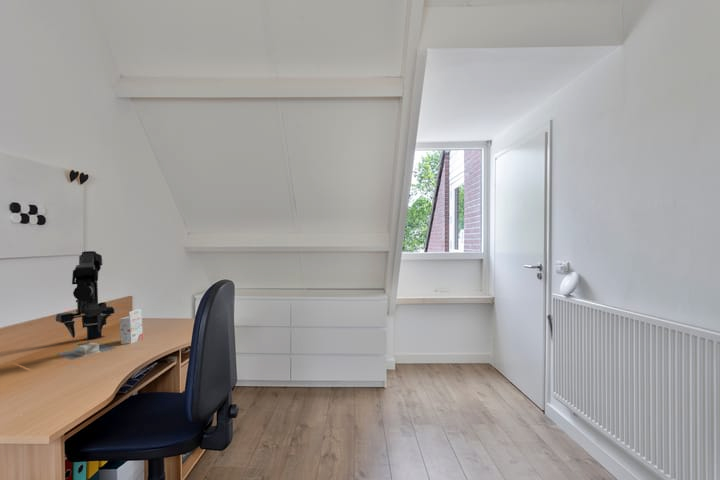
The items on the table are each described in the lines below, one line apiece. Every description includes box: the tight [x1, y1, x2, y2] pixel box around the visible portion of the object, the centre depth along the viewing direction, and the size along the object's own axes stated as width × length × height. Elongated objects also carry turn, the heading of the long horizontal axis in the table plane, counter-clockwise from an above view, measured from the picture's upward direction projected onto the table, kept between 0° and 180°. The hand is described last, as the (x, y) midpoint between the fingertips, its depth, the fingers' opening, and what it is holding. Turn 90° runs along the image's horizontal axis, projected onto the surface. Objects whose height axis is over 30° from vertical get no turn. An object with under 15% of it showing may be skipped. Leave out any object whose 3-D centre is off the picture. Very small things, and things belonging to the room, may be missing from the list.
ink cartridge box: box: [119, 308, 144, 345], centre depth 164 cm, size 9×5×15 cm, turn 179°
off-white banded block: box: [75, 341, 100, 356], centre depth 148 cm, size 5×8×3 cm, turn 60°
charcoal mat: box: [56, 343, 117, 360], centre depth 151 cm, size 15×16×1 cm
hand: (87, 334), depth 148 cm, fingers open, 9 cm apart
